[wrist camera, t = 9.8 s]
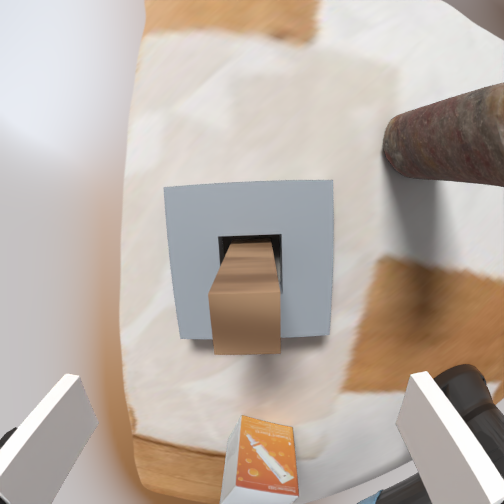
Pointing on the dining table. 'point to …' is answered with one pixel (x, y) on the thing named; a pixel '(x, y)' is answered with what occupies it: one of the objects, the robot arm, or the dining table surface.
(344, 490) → the dining table surface
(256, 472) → the small box
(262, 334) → the peg
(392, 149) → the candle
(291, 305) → the socket
